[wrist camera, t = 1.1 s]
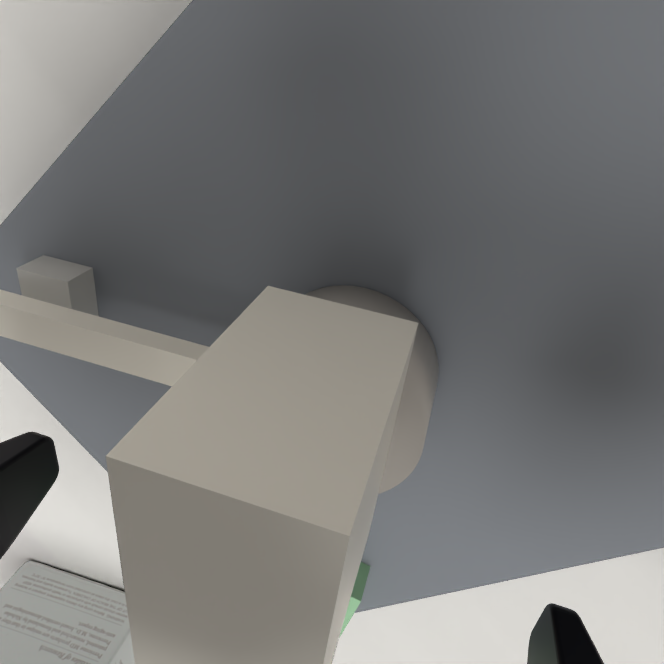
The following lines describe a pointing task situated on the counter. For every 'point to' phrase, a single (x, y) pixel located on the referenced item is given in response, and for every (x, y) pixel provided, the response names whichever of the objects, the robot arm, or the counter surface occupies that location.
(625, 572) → the counter surface
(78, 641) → the supplement box
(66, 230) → the dial plate
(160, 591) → the tuning peg
